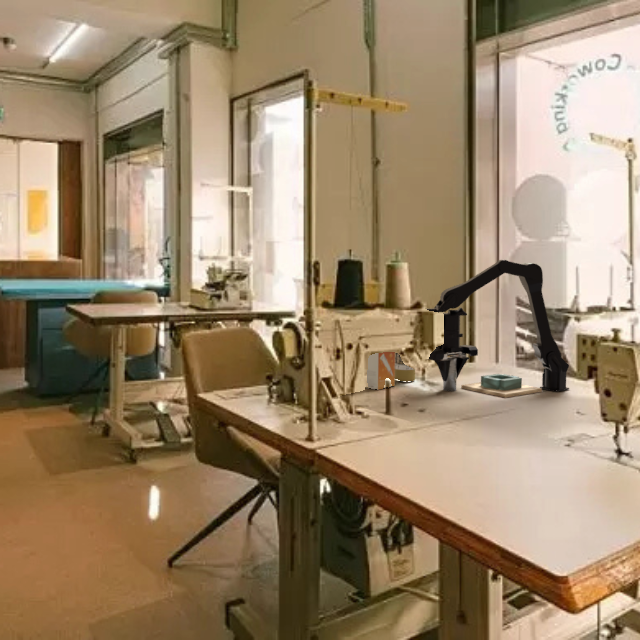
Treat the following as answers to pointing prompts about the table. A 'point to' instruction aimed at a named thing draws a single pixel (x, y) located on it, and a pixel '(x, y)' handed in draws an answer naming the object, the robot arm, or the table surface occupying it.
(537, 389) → the socket board
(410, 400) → the table surface
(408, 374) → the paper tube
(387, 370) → the small box
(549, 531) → the table surface
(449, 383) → the steel pin
